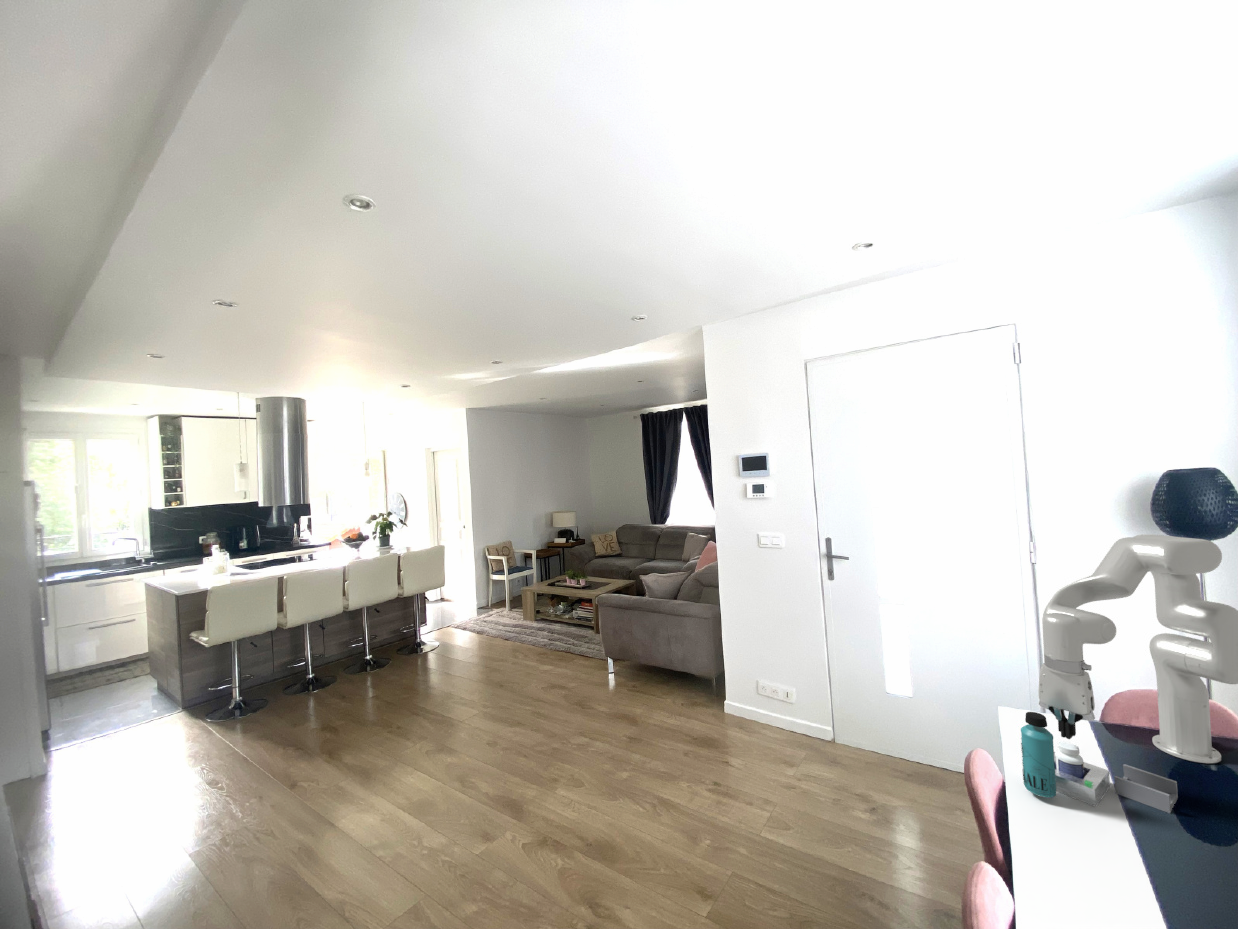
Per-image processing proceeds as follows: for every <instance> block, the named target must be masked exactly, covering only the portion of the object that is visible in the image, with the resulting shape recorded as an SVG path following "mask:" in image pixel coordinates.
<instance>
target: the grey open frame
mask: <svg viewBox="0 0 1238 929" xmlns="http://www.w3.org/2000/svg"><path fill="white" fill-rule="evenodd" d="M1122 769H1123V770H1122V771H1123V772H1122V773H1123V777H1120V776H1117V775H1115V776H1114V789H1115V790H1114V791H1115V794H1116V795H1119V796H1121V797H1124V798H1128V799H1131V800H1132V801H1135V802H1137V803H1140V804H1141V803H1142V804H1144V805H1146V806H1148V807H1152V808H1155V809H1157V810H1159V811H1163V812H1165V813H1168V814H1171V812H1172V811H1173V809H1172V808H1174V807H1175V805H1174V804H1176V803H1177V800H1178V798H1179V796H1178V795H1179V794H1178V782H1177V781H1176V780H1173V779H1170V778H1169V777H1164V776H1161V775H1159V774H1156V773H1152V772H1150V771H1147V770H1143V769H1141V768H1137V767H1135V766H1132V765H1128V764H1125V763H1124V764H1123V765H1122Z"/></svg>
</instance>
